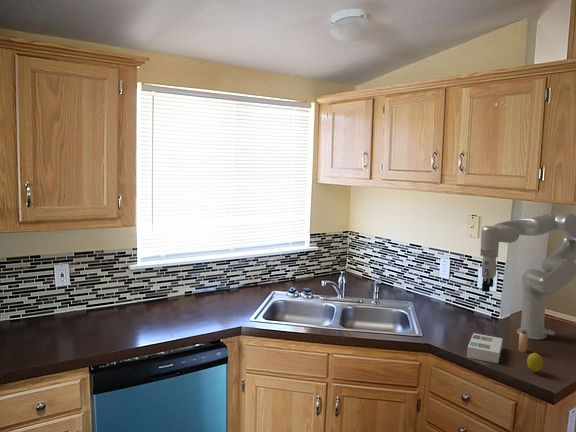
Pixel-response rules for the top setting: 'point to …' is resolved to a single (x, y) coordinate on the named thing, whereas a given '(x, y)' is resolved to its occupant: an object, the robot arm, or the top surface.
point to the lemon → (535, 362)
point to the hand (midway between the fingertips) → (487, 288)
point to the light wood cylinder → (523, 341)
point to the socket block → (484, 348)
